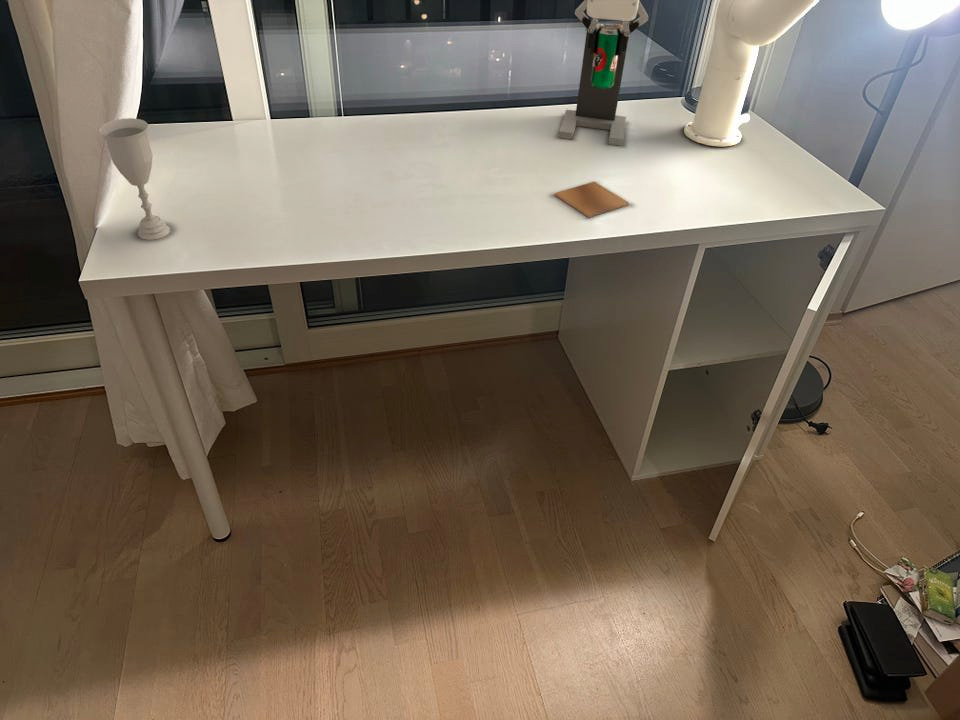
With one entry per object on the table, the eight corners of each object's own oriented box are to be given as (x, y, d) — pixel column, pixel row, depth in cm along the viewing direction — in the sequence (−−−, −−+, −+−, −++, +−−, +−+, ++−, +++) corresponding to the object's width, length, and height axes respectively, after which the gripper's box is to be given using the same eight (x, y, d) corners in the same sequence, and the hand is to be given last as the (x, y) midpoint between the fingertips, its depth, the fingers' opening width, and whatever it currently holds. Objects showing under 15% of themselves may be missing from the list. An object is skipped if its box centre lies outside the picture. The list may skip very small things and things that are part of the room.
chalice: (139, 221, 121) (107, 117, 109) (180, 221, 121) (153, 118, 110) (126, 243, 115) (92, 137, 104) (169, 243, 116) (140, 137, 104)
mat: (593, 183, 139) (594, 181, 139) (628, 205, 133) (629, 202, 133) (554, 195, 135) (554, 192, 134) (588, 217, 129) (589, 215, 128)
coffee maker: (565, 115, 166) (577, 17, 152) (625, 122, 164) (642, 24, 150) (558, 137, 156) (570, 35, 142) (621, 145, 154) (640, 43, 140)
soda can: (612, 91, 149) (621, 30, 141) (588, 88, 150) (596, 28, 142) (614, 82, 153) (623, 23, 145) (590, 80, 153) (598, 21, 146)
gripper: (665, -46, 137) (648, 51, 148) (577, -53, 139) (567, 44, 151) (664, -38, 131) (646, 63, 143) (573, -45, 133) (563, 55, 145)
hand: (606, 52), depth 147 cm, fingers closed on soda can, 5 cm apart
